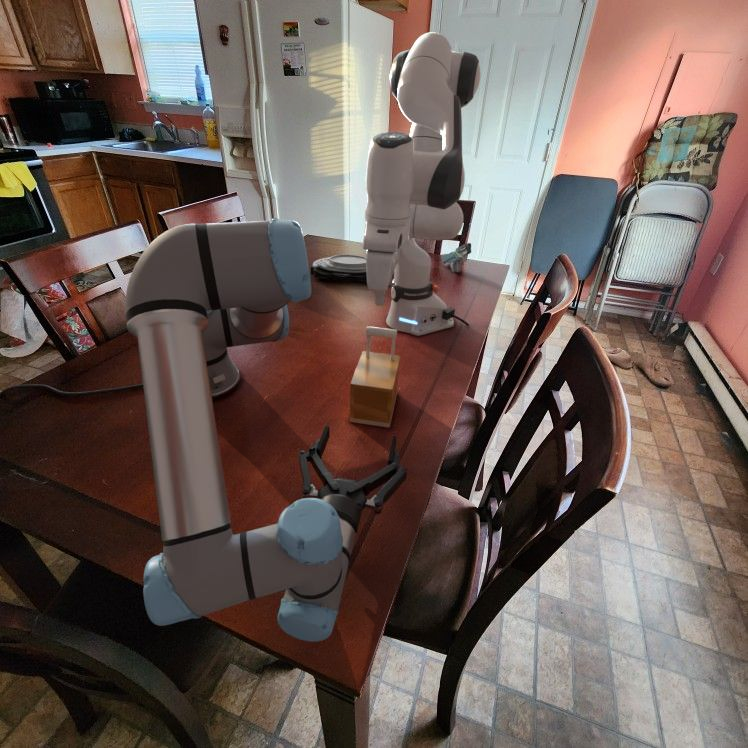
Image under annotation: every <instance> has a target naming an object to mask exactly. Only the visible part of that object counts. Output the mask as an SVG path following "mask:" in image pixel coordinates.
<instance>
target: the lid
mask: <svg viewBox="0 0 748 748" xmlns="http://www.w3.org/2000/svg"><path fill="white" fill-rule="evenodd" d="M397 333H398V330H395V329H393V328H385V327H376V326H368V325H367V326H366V328H365V336H366V347H365V348H366V350H363V351H362V352H361V355H360V358H359V360H358V363H357V366H356V368H355V371H354V372H353V376H352V379H351V381H350V385H349V388H350V387H354V388H361V389H368V390H376V391H383V392H390V393H392V392H393V388H394V383H395V379H396V375H397V371H398V366H399V367H400V365H399V362H401V355H397V354H395V350H396V340H397V336H398V334H397ZM371 337H379V338H387V339H391V350H390V351H391V353H390V354H389V353H381V352H375V351H371Z"/></svg>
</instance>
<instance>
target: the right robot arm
mask: <svg viewBox="0 0 748 748" xmlns="http://www.w3.org/2000/svg"><path fill="white" fill-rule="evenodd" d="M389 72H390V73H389V84H390V89H391V93H392V95H393V97H394V98H395V99H396V100H397V103H398V107H399V109H400V111H401V112H402V114H403V115H404V117H405V118H406V119H407V120H408V121H409V122H411V127H410V133H409V134H407V133H405V132H399V131H386V132H381V133H378V134H376V135H374V136H373V137H372V138H371V140H370V145H369V149H368V155H367V161H366V162H367V163H366V172H365V173H366V174H365V175H366V176H365V190H366V196H367V203H366V206H365V210H364V235H363V240H362V248H363V249H364V250H366V252H365V257H366V273H367V282H366V285H367V288H368V289H367V290H368V291H370V292H374V297H375V300H374V304H375V305H376V306H381V307H383V306H384V305H385V303H386V293H387V291H388V289H389V288H391V289H390V292H391V293H390V294H391V295H390V297H391V301H390V307H389V310H388V314H387V316H386V318H385V323H386V324H387V326H388V327H389V328H390V329H394V330H397V332H402V333H408V334H411V335H413V336H417V337H420V336H423V335H428V334H431V333H435V332H438V331H443V330H445V329H450V328H453V327H454V326H455V319H456V320H458V321H460V322H461V323H463V324H464V325H465V326H466V327H469V326H470V324H469V323H468V322H467V321H466V320H464V319H463V318H461V317H459V316H457V315H455V313H456V312H455V311H456V308H453V307H452V306H451V307H448V305H447V303H446V302H445V301H444V300H443V299H442V298H441V297H440V296H438V295H437V294H438V293H439V292H440V290H441V289H440V286H438V285H437V284H434V283H433V281H431V280H430V278H431V270H432V259H431V255H429V253H428V252H427V251H425V250H424V249H423V248H422V247H420V246H419V245H418V243H417V242H416V241H415V239H422V240H427V241H428V240H430V241H448V240H449V241H450V240H454V239H455V238H456V237H457V236H458V235H459V234H460V232H461V230H462V229H463V225H464V212H463V210H462V207H461V206H460V204H459V203H458V201H459V200H460V199H461V196H462V194H463V192H464V187H465V181H466V173H465V166H464V162H463V160H464V159H463V120H462V119H463V117H462V116H463V115H462V108H464V107H465V106H468V104H469V103H471V101H472V100H473V99H474V97H475V95H476V93H477V91H478V89H479V86H480V81H481V66H480V60H479V58H478V56H477V55H476V54H473V53H472V52H468V51H463V52H460V51H455V50H453V49H452V46H451V44H450V42H449V41H448V39H447V38H446V37H445V36H444V35H443V34H442V33H439V32H434V31H429V32H426V33H423V34H421V35H420V36H419V37H418V38H417V39H416V40H415V41H414V43H413V45H412V46H411V48H410V49H407V50H403V51H401V52H398V54H397V55H396V56H395V57H394V58H393V61H392V64H391V66H390V71H389ZM436 293H437V294H436Z"/></svg>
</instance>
